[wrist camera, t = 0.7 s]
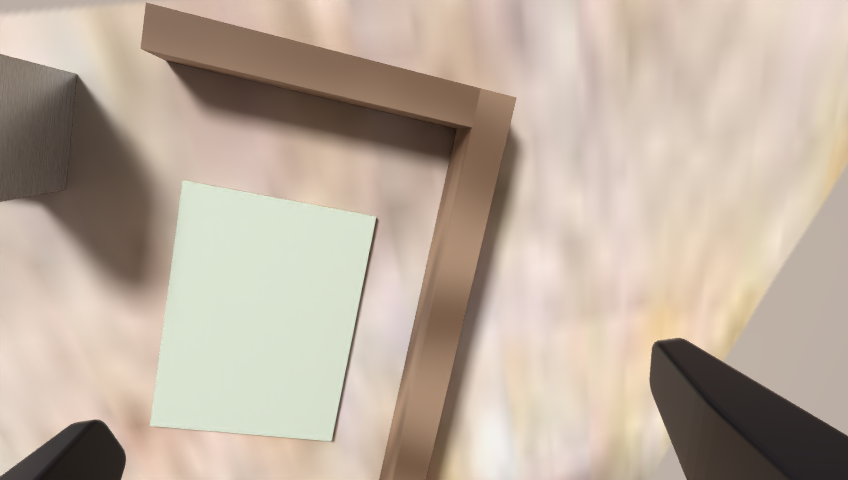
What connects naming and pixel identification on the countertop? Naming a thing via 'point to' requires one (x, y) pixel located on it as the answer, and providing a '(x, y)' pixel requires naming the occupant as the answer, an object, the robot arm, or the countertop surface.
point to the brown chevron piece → (460, 204)
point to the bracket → (34, 127)
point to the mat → (259, 314)
